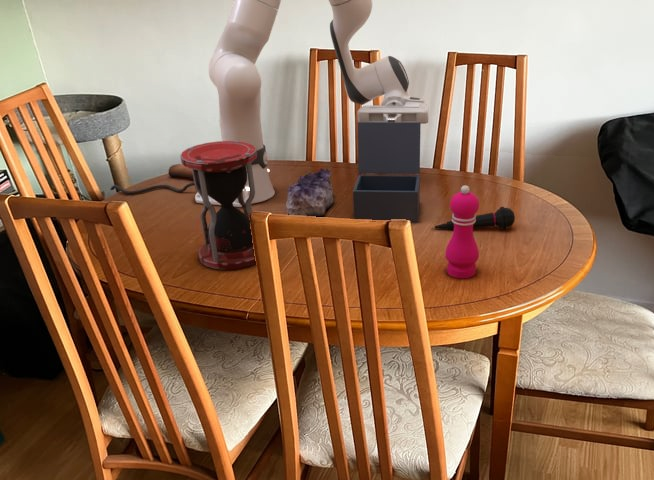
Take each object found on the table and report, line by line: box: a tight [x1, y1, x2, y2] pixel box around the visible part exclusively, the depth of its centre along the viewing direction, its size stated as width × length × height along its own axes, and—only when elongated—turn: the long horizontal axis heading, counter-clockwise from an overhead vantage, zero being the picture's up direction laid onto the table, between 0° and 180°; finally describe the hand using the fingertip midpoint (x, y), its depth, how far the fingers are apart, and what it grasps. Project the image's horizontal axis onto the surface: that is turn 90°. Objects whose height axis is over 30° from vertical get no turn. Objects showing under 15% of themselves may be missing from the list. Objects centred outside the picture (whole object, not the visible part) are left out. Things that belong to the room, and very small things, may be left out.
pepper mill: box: [444, 184, 480, 279], centre depth 131 cm, size 7×7×20 cm
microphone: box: [434, 206, 516, 231], centre depth 155 cm, size 6×6×20 cm
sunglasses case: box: [168, 163, 194, 179], centre depth 193 cm, size 18×7×7 cm, turn 67°
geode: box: [285, 168, 335, 217], centre depth 169 cm, size 20×12×10 cm, turn 169°
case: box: [352, 174, 421, 223], centre depth 164 cm, size 13×17×8 cm
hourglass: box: [179, 140, 257, 271], centre depth 140 cm, size 16×16×25 cm
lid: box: [357, 121, 422, 175], centre depth 165 cm, size 13×17×1 cm
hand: (391, 122), depth 170 cm, fingers closed
